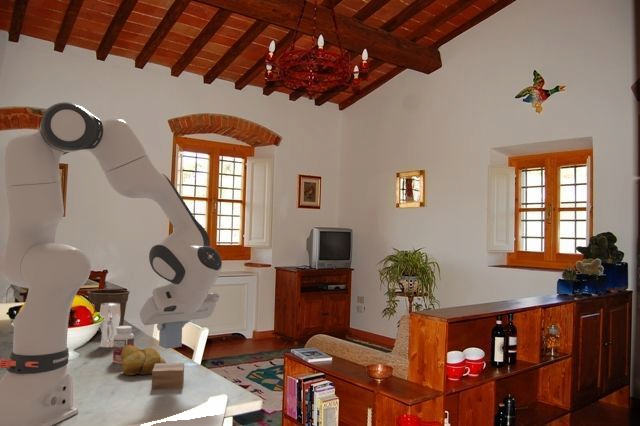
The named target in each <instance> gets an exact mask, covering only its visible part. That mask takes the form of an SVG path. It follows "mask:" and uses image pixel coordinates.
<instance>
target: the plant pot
mask: <svg viewBox="0 0 640 426" xmlns="http://www.w3.org/2000/svg"><path fill="white" fill-rule="evenodd" d="M130 293H131V291H130V290H126V289H115V288H113V289H109V288H106V289H104V288H103V289H102V288H101V289H91V290H88V291H87V294H88V301H89V300H90V301H91V302H92V303H93V304H94V305H95V310H96V311H97V312H100V307H101V304H103V303H120V323H119V326H124V323H125V322H124V321H125V315H126V307H127V302H128V300H129V296H130ZM97 333H100V334H101V328H99V331H98V332H97Z"/></svg>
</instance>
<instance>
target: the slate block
mask: <svg viewBox="0 0 640 426" xmlns="http://www.w3.org/2000/svg"><path fill="white" fill-rule="evenodd" d="M164 325H165V328H164V330H159V331H158V332H159V334H158V335H159V338H158V340H159V341H158V345H159V347H161V348H164V349H166V350H167V349H168V350H169V349H174V348H180V347H182V343H183V327H182V321H178V322H169V323H164Z"/></svg>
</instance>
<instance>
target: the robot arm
mask: <svg viewBox="0 0 640 426" xmlns="http://www.w3.org/2000/svg"><path fill="white" fill-rule="evenodd" d="M39 125H40V126H39V128H38V130H37V131H36V132H34V133H31V134H30V133H29V134H21V135H18V136H15V137H13V138H12V139H10V140H9V141H8V142H7V144H6V147H5V155H4V180H5V188H6V189H5V190H6V196H7V205H8V207H7V208H8V214H9V225H8V226H9V227H8V235H7V241H6V245H5V249H4V250H3V251H2V254H1V255H0V275H1V276H2V278H3V279H5V280H6V281H8V282H9V283H11V284H12V285H14V286H16V287H19V288H24V289H28V291H27V295H26V298H25V302H24V304H23V306H22V309H21V310H20V311H19V312H18V313H17V314H16V315H15V316H14V321H13V339H12V341H13V342H12V351H11V352H10V354H9V357H8V358H1V359H0V369H5V370H6V372H5V374H4V375H3V376H2V377H1V379H0V426H54V425H56V424H58V423H60V422H62V421H64V420H67V419H68V418H70V417H73V416H75V415H76V414H78V413H79V408H78V406H76V405H75V404H74V386H73V383H74V382H73V376H72V374H71V373H70V371H69V369H68V366H67V365H68V364H69V357H70V353H69V351H70V350H69V347H68V331H69V318H70V312H71V308H72V305H73V302H74V300H75V297H76V295H77V293H78V291H79V290H80V289H81V288H82V287H83V286H84V285H85V284H86V283H87V282H88V280H89V277H90V275H91V272H92V265H91V260H90V257H89V256H88V255H87V254H86V253H85V252H84V251H82V250H81V249H80V248H77V247H74V246H71V245H69V244H65V243H56V233H57V228H58V225H59V223H60V222H61V220H63V217H64V215H65V208H64V200H63V190H62V182H61V175H60V160H61V157H62V156H63V155H66V154H71V153H75V152H78V151H83V150H85V151H88V152H90V153H91V154H92V155H93V156H94V157H95V159H96V160H97V161H98V164H99V165H100V167H101V169H102V172H103V173H104V175H105V177H106V180H107V181H108V183H109V185H110V186H111V188H112V189H113V190H114V191H115V192H116V193H117V194H119V195H121V196H123V197H126V198H130V199H149V200H153V201H154V202H156V203H157V204H158V205H159V206H160V208H161V210H162V211H163V212H164V215H165V216H166V217H167V219H168V220H169V222H170V223H171V224H172V227H173V232H171V233H170V234H169V235H167V236H166V237H164V238H163V239H162V240H159V242H157V243H156V244H154V245H153V246H152V247H151V248H150V250H149V253H148V254H149V255H148V259H149V261H148V262H149V264H150V268H151V269H152V270H153V271H154V273H156V274H157V275H158V276H159V277H160V278H162V279H164V280H166V281H168V282H169V283H167V284H166V285H163V286H159V287H156V288H154V289H153V290H152V296H150V297H149V298H148V299H147V300H145V303H144V304H143V306H142V307H141V310H140V312H139V317H140V321H141V323H142V324H143V325H144V326H149V325H151V326H152V325H156V328H157V330H158V332H159V331H160V330H164V328H165V325H164V323H169V322H178V321H182V328H184V327H185V326H186V324H187V325H188V323H190V322H191V321H193V320H195V321H196V320H201V319H203V320H204V319H208V318H211V316H212V315H213V313H214V312H215V309H216V306H217V302H219V300H220V294H217V293H216V292H212V293H209V291H210V290H211V289H212V288H213V287H214V285H215V284H216V282H217V280H218V277H219V276H220V273H221V271H222V266H223V259H222V257H221V255H220V253H219V252H218V251H217V250H216V249H215V248H213V247H212V246H211V241H210V236H209V234H208V232H207V231H206V229H205V228H204V227H203V226H202V225H201V223H199V221H198V220H197V219H196V217H194V215H193V213H192V211H191V210H190V209H189V207H188V205H187V204H186V203H185V201H184V199H183V198H182V196H181V194H180V192H179V191H178V190H177V188H176V187H175V185H174V184H173V183H172V181H171V179H170V178H169V177H168V176H167V175H165V173H162V172H160V171H159V170H158V168H156V167H155V165H154V163H153V162H152V161H151V159H150V157H149V155H148V153H147V151H146V150H145V147H144V146H143V144H142V142H141V140H140V138H139V137H138V136H137V134H136V133H135V131H134V130H133V129H132V128H131V126H130V125H129V124H128V123H127V122H126V121H125V120H124V119H120V118H108V119H105V120H101V119H100V118H99V117H97V116H95V114H92V113H91V112H90V111H89V110H87V109H85V107H83V106H80V105H78V104H77V103H73V102H67V101H66V102H64V101H63V102H58V103H55V104H52V105H50V107H48V108H47V109H46V110H45V111H44V113H43V114H42V118H41V120H40V124H39Z"/></svg>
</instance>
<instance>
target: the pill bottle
mask: <svg viewBox="0 0 640 426" xmlns="http://www.w3.org/2000/svg"><path fill="white" fill-rule="evenodd" d="M132 330H133V326H131V325H123V326H119V327H117V328H116V332H117V334H115V335H114V341H113V347H112V348H113V349H112V361H113V363H114V364H116V365H117V364H119V365H122V361H123V360H122V358H121V352H122V350H123V347H124V346H126V345H129V344H130V345H133V346H135V335H134V333H132Z"/></svg>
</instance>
